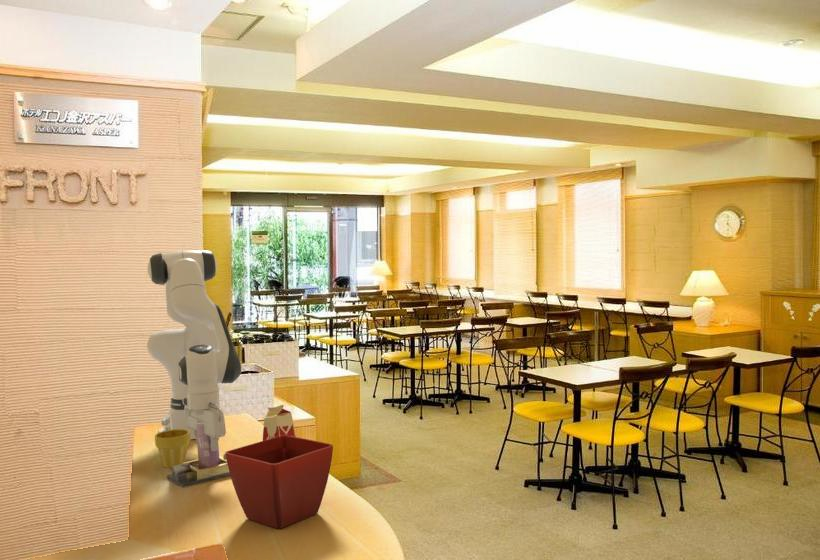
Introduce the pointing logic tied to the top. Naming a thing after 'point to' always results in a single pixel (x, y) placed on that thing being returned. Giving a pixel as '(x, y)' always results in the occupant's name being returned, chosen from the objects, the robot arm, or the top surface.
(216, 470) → the grey and tan tray
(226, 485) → the top surface
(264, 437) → the milk carton
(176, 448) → the plant pot
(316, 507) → the plant pot
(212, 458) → the beverage can
